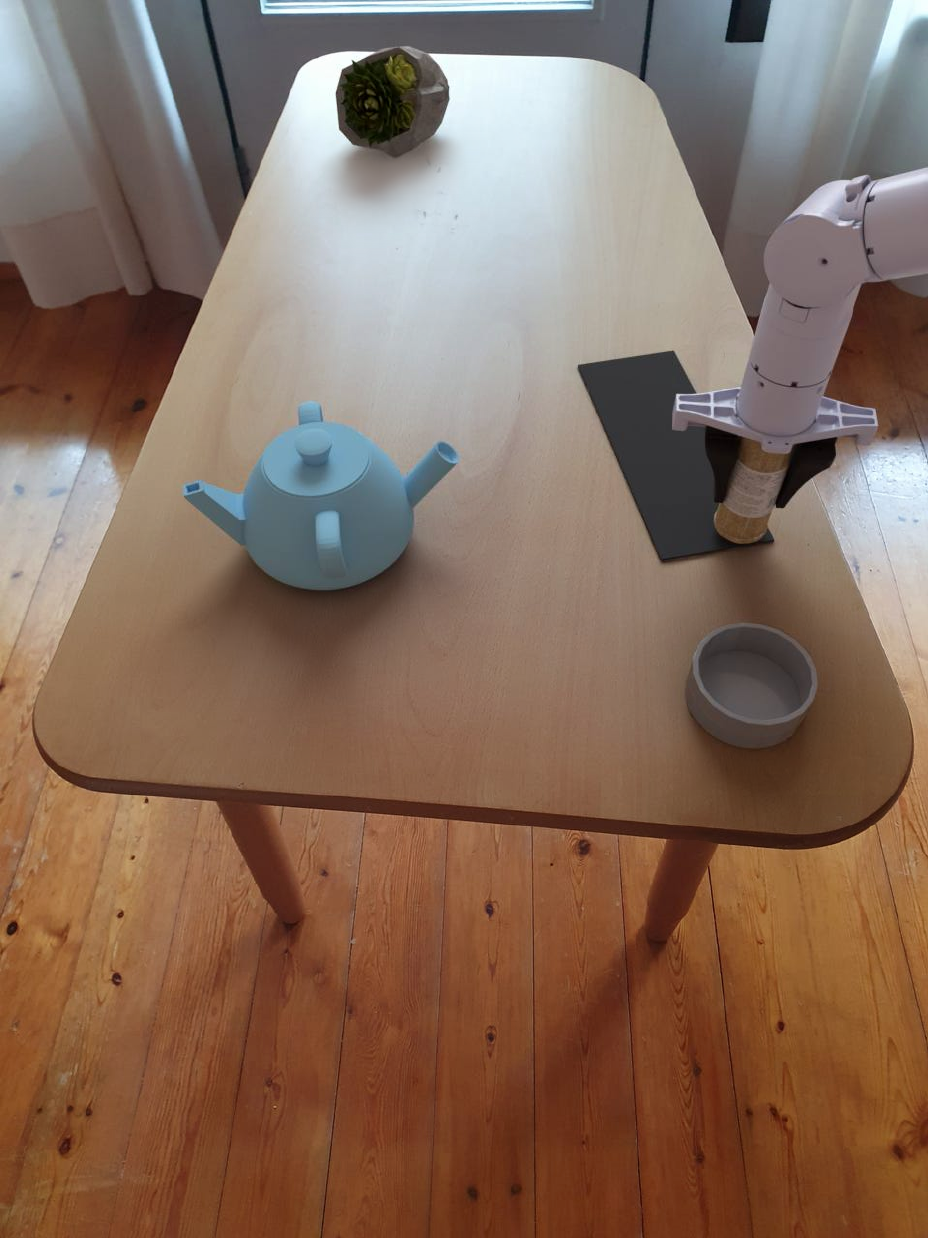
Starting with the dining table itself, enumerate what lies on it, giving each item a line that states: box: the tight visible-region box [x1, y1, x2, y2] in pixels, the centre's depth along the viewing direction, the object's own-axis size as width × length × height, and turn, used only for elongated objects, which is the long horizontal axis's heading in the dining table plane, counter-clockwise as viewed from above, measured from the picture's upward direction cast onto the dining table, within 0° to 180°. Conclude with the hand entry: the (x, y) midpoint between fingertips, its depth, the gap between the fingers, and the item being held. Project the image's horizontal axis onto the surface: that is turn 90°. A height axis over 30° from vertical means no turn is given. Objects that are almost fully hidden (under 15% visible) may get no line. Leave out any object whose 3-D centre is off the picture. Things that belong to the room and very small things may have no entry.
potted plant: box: [334, 45, 451, 159], centre depth 116 cm, size 12×13×15 cm
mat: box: [577, 350, 775, 562], centre depth 87 cm, size 26×10×1 cm, turn 11°
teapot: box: [181, 400, 460, 591], centre depth 77 cm, size 15×17×11 cm
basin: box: [684, 622, 819, 750], centre depth 70 cm, size 9×9×4 cm
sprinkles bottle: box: [714, 435, 795, 544], centre depth 74 cm, size 5×5×14 cm
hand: (748, 496), depth 77 cm, fingers closed on sprinkles bottle, 4 cm apart
